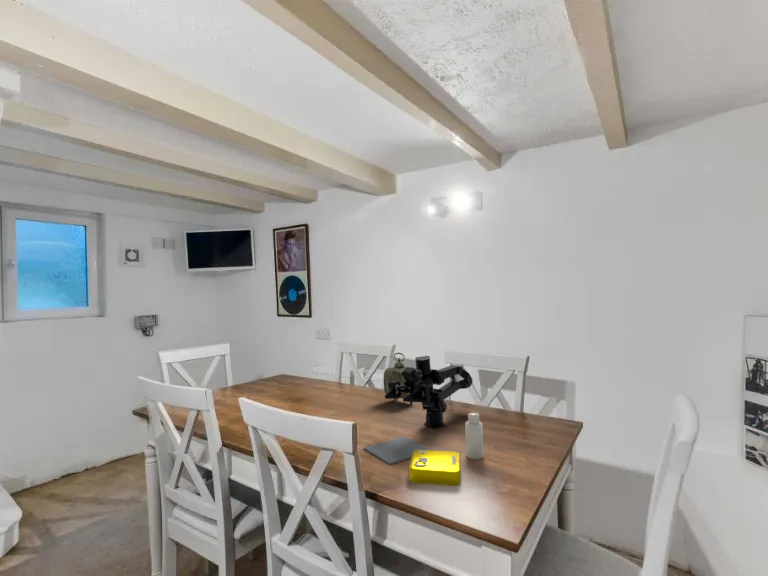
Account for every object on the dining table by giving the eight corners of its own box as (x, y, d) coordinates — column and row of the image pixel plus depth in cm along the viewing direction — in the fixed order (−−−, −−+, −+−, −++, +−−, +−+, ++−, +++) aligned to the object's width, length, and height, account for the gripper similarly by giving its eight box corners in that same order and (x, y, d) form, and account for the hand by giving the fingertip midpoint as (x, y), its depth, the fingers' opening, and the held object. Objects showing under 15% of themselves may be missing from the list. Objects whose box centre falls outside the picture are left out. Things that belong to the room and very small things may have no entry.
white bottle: (473, 451, 140) (473, 410, 140) (486, 456, 135) (485, 414, 135) (462, 455, 137) (461, 413, 137) (474, 460, 132) (474, 417, 132)
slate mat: (404, 437, 153) (404, 436, 153) (432, 451, 140) (432, 449, 140) (363, 448, 143) (363, 447, 143) (390, 464, 130) (390, 463, 130)
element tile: (460, 487, 115) (460, 470, 115) (408, 483, 118) (408, 467, 118) (460, 465, 130) (460, 450, 130) (413, 462, 133) (413, 447, 133)
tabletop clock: (416, 404, 198) (415, 353, 198) (404, 408, 191) (403, 355, 191) (394, 399, 207) (393, 350, 208) (382, 402, 201) (381, 352, 201)
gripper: (399, 363, 166) (372, 375, 155) (436, 366, 153) (409, 379, 142) (403, 390, 166) (377, 403, 155) (440, 394, 153) (415, 410, 142)
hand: (394, 398), depth 149 cm, fingers open, 9 cm apart
